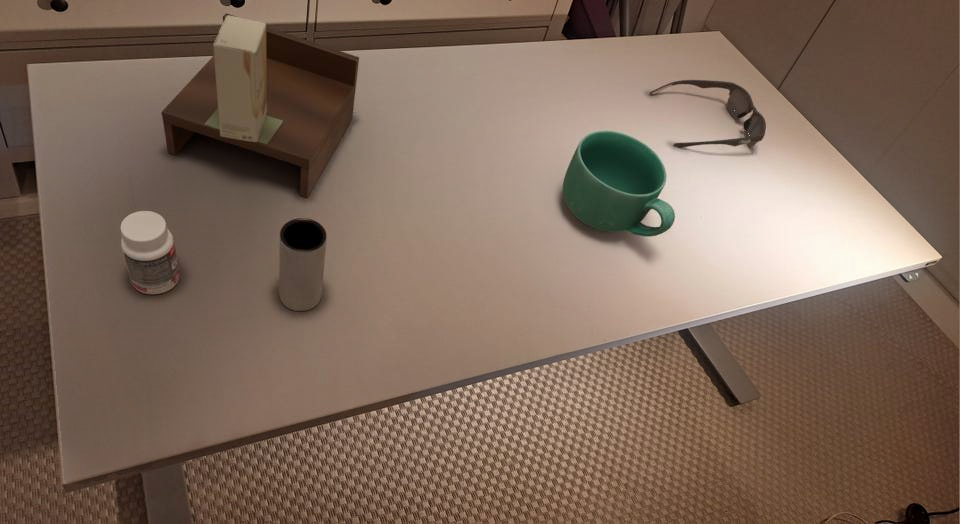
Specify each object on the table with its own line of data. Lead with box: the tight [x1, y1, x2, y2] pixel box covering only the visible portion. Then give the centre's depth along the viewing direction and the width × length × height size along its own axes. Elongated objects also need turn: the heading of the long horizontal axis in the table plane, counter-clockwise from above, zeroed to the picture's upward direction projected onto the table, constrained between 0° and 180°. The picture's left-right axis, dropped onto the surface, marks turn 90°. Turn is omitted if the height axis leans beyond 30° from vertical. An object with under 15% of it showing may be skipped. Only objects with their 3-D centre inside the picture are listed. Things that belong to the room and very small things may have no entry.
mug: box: [562, 130, 676, 238], centre depth 89 cm, size 17×13×10 cm
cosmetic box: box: [213, 14, 267, 142], centre depth 74 cm, size 6×4×12 cm
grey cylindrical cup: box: [278, 217, 328, 312], centre depth 69 cm, size 4×4×10 cm
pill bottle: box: [120, 210, 181, 295], centre depth 67 cm, size 5×5×8 cm
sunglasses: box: [649, 79, 767, 149], centre depth 113 cm, size 16×17×5 cm
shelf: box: [161, 12, 360, 199], centre depth 84 cm, size 17×18×10 cm
